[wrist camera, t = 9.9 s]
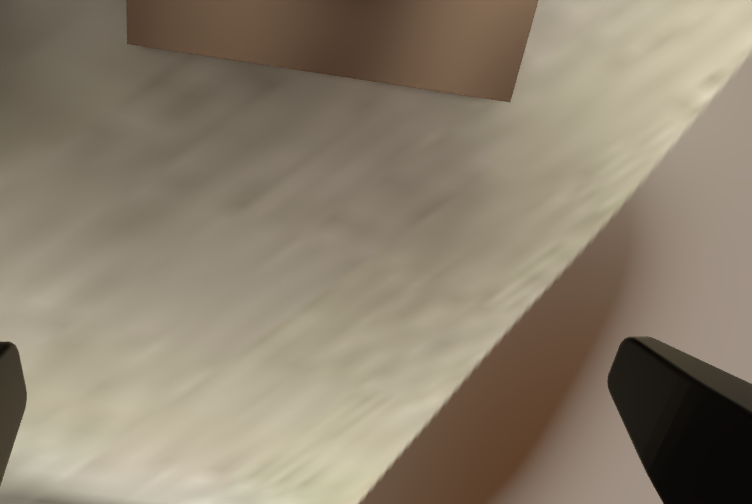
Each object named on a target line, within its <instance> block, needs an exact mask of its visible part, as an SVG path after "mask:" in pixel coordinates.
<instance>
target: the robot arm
mask: <svg viewBox="0 0 752 504" xmlns="http://www.w3.org/2000/svg"><path fill="white" fill-rule="evenodd" d="M607 382H608V389H609V391H610V394H611V396H612V398H613V401H614V403H615V405H616V407H617V410H618V412H619V414H620V416H621V418H622V421H623V422H624V425H625V427H626V429H627V431H628V433H629V436H630V438H631V440H632V443H633V445H634V447H635V449H636V451H637V453H638V456H639V458H640V460H641V462H642V464H643V466H644V468H645V470H646V473H647V475H648V476H649V478H650V480H651V482H652V484H653V486H654V487H655V489H656V491H657V493H658V494H659V496H660V498H661V500H662V501H663V503H664V504H752V384H750V383H748V382H746V381H744V380H742V379H740V378H738V377H735V376H733V375H731V374H729V373H727V372H725V371H722V370H721V369H718V368H716V367H714V366H712V365H710V364H708V363H706V362H703V361H701V360H699V359H697V358H695V357H693V356H691V355H688V354H686V353H684V352H682V351H680V350H678V349H675V348H673V347H671V346H669V345H667V344H665V343H663V342H661V341H659V340H656V339H654V338H652V337H627V338H625V339H624V340H623V341H622V342H621V344H620V346H619V348H618V351H617V354H616V356H615V359H614V362H613V364H612V366H611V369H610V372H609V374H608V381H607ZM26 400H27V391H26V386H25V381H24V376H23V371H22V366H21V361H20V356H19V352H18V349H17V347H16V345H14V344H13V343H11V342H0V485H1V482H2V479H3V476H4V473H5V470H6V467H7V464H8V460H9V457H10V454H11V451H12V448H13V445H14V442H15V439H16V436H17V432H18V429H19V426H20V423H21V420H22V417H23V414H24V411H25V407H26Z"/></svg>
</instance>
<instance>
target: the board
mask: <svg viewBox="0 0 752 504" xmlns="http://www.w3.org/2000/svg"><path fill="white" fill-rule="evenodd" d="M537 3H538V0H127V44H131V45H138V46H144V47H151V48H158V49H164V50H171V51H177V52H184V53H190V54H197V55H203V56H210V57H217V58H223V59H230V60H236V61H243V62H249V63H256V64H263V65H269V66H276V67H282V68H289V69H295V70H302V71H308V72H315V73H322V74H328V75H335V76H341V77H348V78H354V79H361V80H368V81H374V82H381V83H387V84H394V85H400V86H407V87H413V88H420V89H427V90H433V91H440V92H446V93H453V94H459V95H466V96H473V97H479V98H486V99H492V100H499V101H505V102H510V101H511V97H512V94H513V90H514V86H515V83H516V79H517V75H518V72H519V68H520V65H521V61H522V57H523V54H524V50H525V47H526V43H527V39H528V36H529V32H530V29H531V25H532V21H533V18H534V14H535V10H536V7H537Z"/></svg>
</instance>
